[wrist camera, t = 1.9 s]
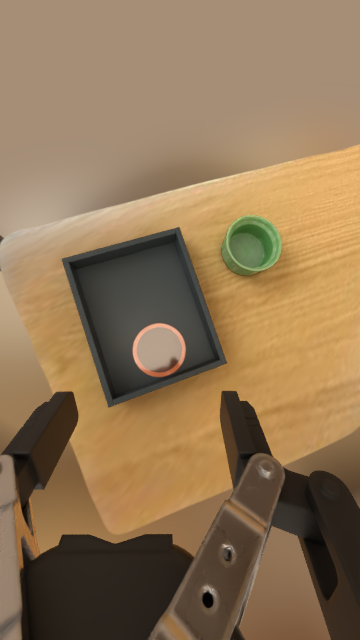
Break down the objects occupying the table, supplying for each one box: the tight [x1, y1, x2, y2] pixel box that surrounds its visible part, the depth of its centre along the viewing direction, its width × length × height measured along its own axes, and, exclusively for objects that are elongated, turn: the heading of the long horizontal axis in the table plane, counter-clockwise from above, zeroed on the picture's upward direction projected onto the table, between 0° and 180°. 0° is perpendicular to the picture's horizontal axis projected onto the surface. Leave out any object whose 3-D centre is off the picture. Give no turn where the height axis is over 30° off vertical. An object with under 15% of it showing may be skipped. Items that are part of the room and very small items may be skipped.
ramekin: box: [222, 215, 282, 275], centre depth 38 cm, size 9×9×4 cm
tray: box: [62, 227, 227, 407], centre depth 35 cm, size 18×22×4 cm
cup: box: [133, 323, 186, 377], centre depth 31 cm, size 6×6×9 cm
